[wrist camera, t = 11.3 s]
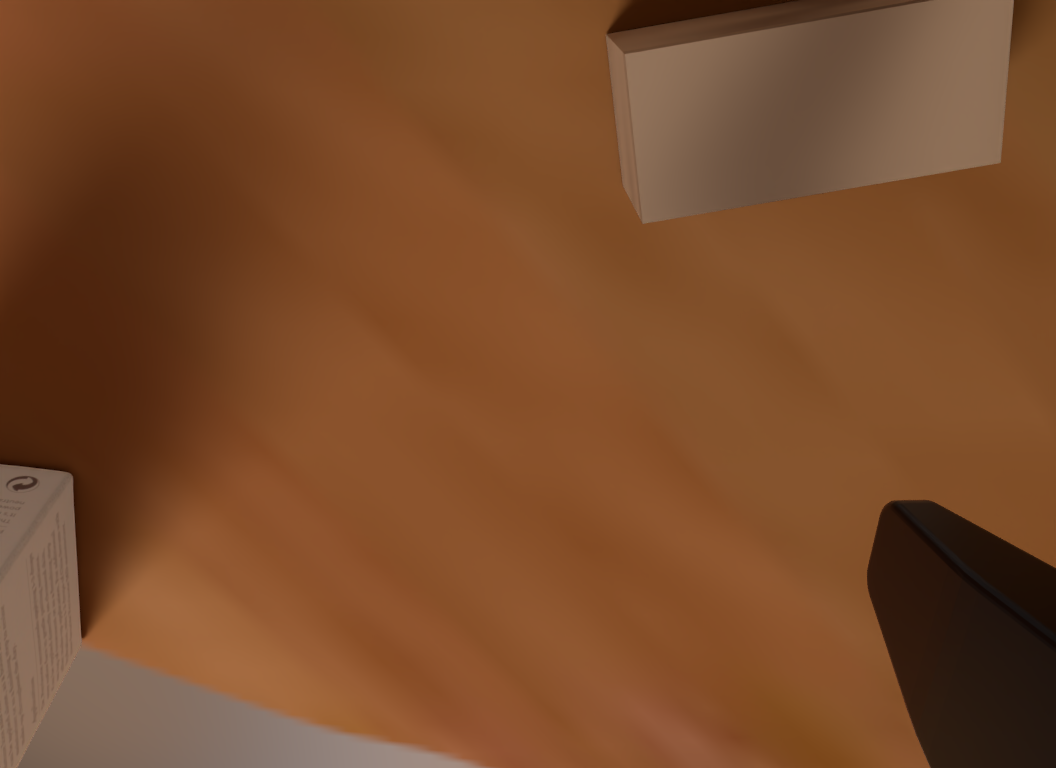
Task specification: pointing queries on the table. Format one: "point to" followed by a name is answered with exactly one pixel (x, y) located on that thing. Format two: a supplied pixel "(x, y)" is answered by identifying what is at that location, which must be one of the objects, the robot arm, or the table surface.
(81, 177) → the table surface
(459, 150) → the table surface
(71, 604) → the skincare box
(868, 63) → the plain pale rectangular box
